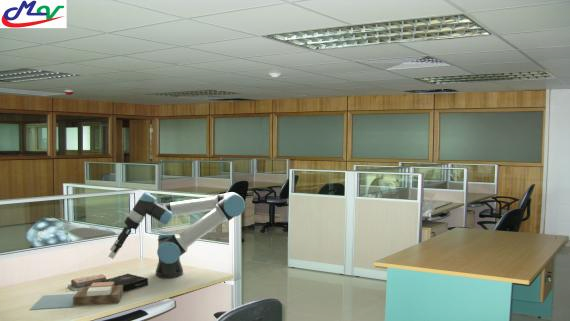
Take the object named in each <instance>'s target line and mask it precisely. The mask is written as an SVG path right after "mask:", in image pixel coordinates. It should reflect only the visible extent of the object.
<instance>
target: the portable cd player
mask: <svg viewBox="0 0 570 321" xmlns="http://www.w3.org/2000/svg"><path fill="white" fill-rule="evenodd" d="M101 282H114V286H117V285H123V294H125V293H127V292H130V291H132V290H136V289H139V288H142V287H146V286H148V285H149V279H148V277H144V276H139V275H135V274H131V273H125V274H122V275H118V276H114V277H110V278H106V280H103V281H101Z"/></svg>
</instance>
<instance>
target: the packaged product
mask: <svg viewBox="0 0 570 321" xmlns="http://www.w3.org/2000/svg"><path fill="white" fill-rule="evenodd" d="M106 279H107V277H106V275H104V274H102V273H101V274H95V275H89V276H84V277H79V278H73V279H70V284H67V288H68V289H70V290H71V291H72V292H77V291H78V290H79V289H80V288H82V287H90V286H91V285H92V284H93V283H97V282H101V281H103V280H106Z"/></svg>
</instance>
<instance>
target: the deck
mask: <svg viewBox="0 0 570 321" xmlns="http://www.w3.org/2000/svg"><path fill="white" fill-rule="evenodd" d="M89 288H91V287H82V288H80V289H79V290H78V291H76V293H74V294H75V295H74V297H73V307H76V306H92V305H93V304H94V305H106V304H107V305H108V304H110V305H111V304H119V303H120V301H121V299H122V296H123V294H124V293H123V285H117V286H114V288H113V289H112V291H111V293H110V295H97V296H87V291H88V289H89Z"/></svg>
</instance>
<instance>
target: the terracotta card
mask: <svg viewBox="0 0 570 321" xmlns="http://www.w3.org/2000/svg"><path fill="white" fill-rule="evenodd" d="M108 286H112V289H113V288H114V282H97V283H93V284H92V285H91V286H90V287H108Z"/></svg>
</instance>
